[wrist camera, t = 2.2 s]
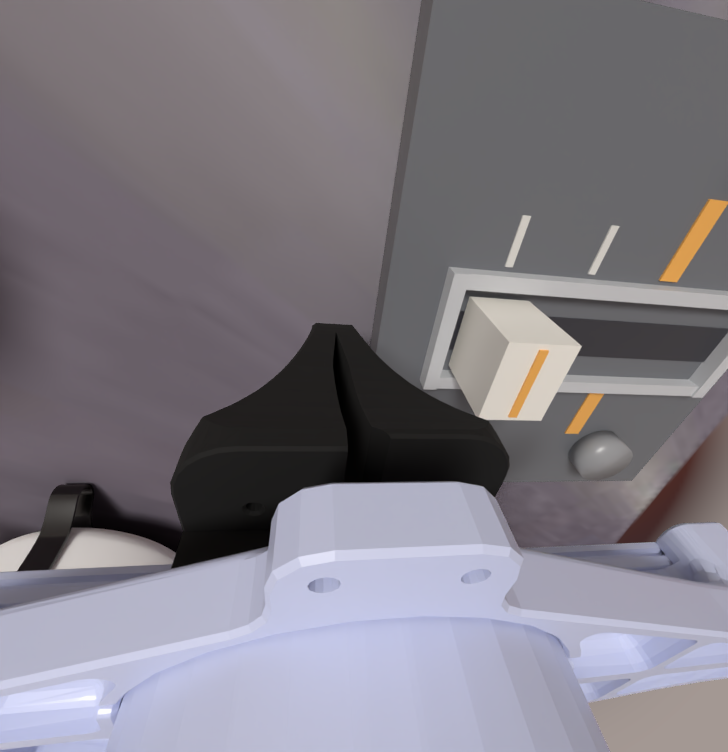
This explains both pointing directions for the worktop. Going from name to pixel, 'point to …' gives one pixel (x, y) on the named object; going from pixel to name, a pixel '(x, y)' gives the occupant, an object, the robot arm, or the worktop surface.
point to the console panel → (566, 215)
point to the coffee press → (78, 539)
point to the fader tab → (510, 359)
